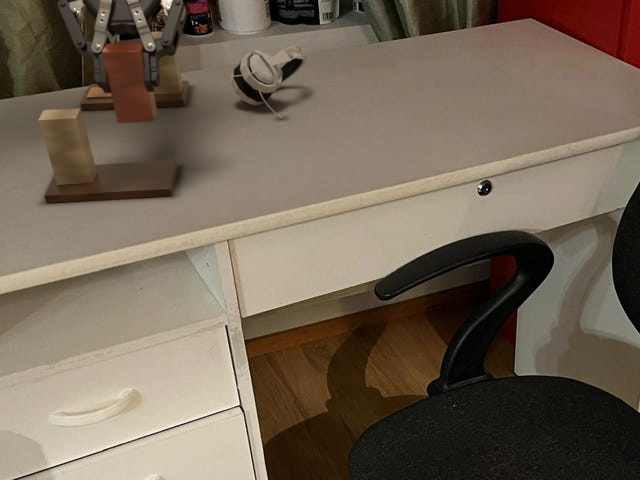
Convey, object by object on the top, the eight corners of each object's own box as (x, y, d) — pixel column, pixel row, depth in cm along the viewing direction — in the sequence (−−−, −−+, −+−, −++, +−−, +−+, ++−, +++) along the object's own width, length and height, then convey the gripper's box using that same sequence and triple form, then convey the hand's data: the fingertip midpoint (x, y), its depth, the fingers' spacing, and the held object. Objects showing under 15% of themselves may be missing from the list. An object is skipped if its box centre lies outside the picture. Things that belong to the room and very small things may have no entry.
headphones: (184, 120, 119) (279, 83, 133) (240, 137, 115) (331, 97, 130) (176, 60, 114) (275, 28, 129) (234, 76, 110) (329, 41, 125)
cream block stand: (46, 203, 100) (23, 128, 94) (60, 173, 106) (39, 102, 100) (171, 196, 102) (156, 122, 96) (178, 167, 108) (164, 97, 103)
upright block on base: (82, 110, 122) (65, 46, 117) (91, 90, 128) (76, 28, 123) (184, 106, 124) (172, 42, 119) (189, 86, 131) (178, 25, 125)
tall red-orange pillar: (117, 123, 98) (101, 52, 93) (121, 113, 101) (105, 43, 96) (154, 121, 99) (140, 51, 94) (157, 112, 101) (143, 42, 96)
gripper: (41, -75, 93) (48, 76, 91) (178, -75, 95) (188, 71, 93) (64, -34, 100) (71, 106, 98) (190, -35, 103) (200, 102, 101)
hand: (128, 88), depth 96 cm, fingers closed on tall red-orange pillar, 4 cm apart
